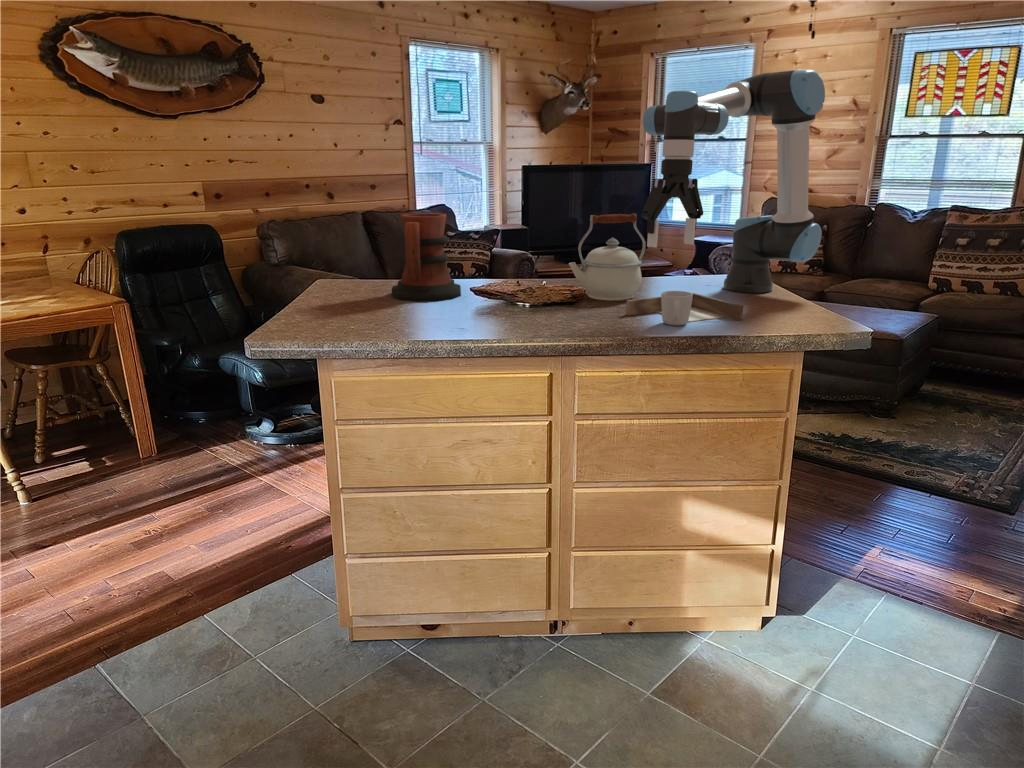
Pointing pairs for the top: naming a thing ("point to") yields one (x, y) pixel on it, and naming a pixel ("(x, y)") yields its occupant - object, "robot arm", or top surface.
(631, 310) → the wooden corner frame
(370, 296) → the top surface
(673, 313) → the cup
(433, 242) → the tankard
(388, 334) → the top surface
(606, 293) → the kettle
